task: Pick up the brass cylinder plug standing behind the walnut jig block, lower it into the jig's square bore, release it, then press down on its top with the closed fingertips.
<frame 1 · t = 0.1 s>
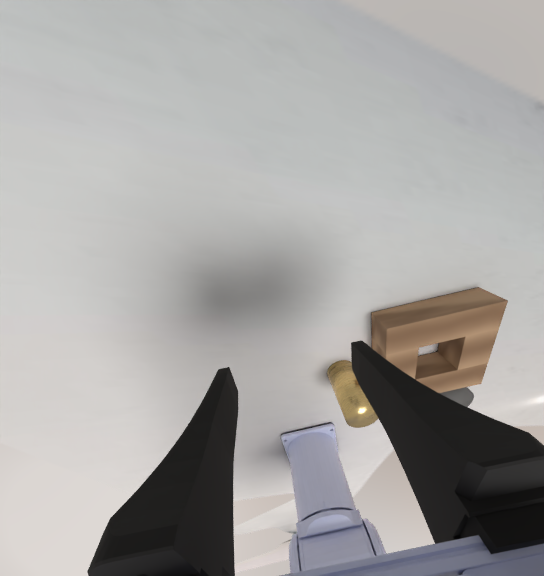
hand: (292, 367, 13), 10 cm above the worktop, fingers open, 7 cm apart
brass cylinder plug: (341, 370, 28), on the worktop
flat gray river rock: (440, 386, 31), on the worktop
jig: (419, 341, 26), on the worktop
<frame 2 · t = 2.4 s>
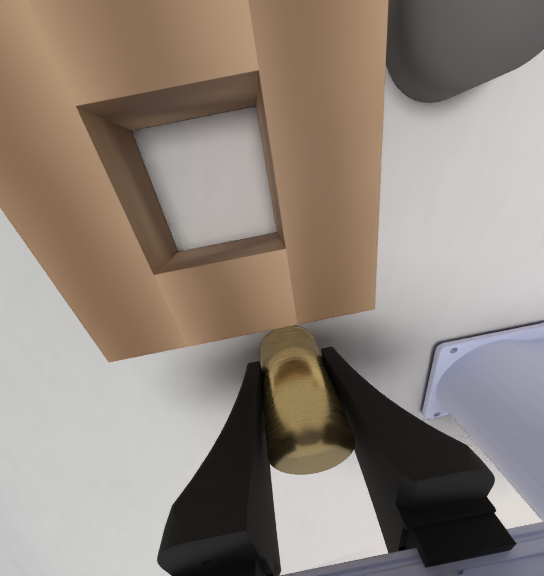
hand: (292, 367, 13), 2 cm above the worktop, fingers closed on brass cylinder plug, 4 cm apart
brass cylinder plug: (288, 348, 14), on the worktop, touching gripper
flat gray river rock: (445, 17, 8), on the worktop
jig: (212, 187, 10), on the worktop
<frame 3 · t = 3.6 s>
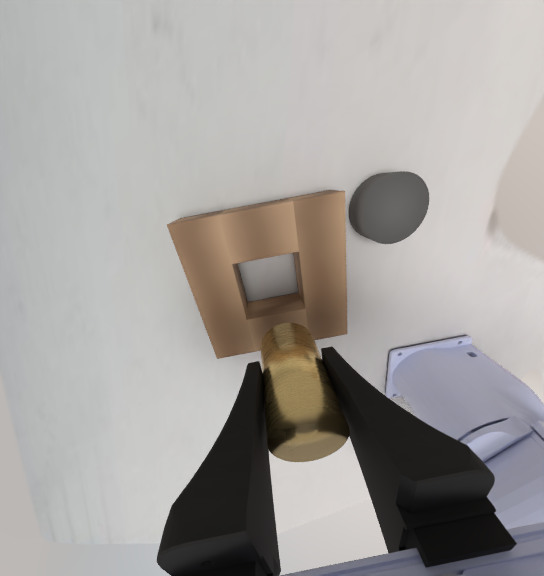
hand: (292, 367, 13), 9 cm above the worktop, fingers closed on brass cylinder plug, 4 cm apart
brass cylinder plug: (287, 344, 15), point 7 cm above the worktop, touching gripper
flat gray river rock: (377, 207, 18), on the worktop
jig: (268, 273, 20), on the worktop
when the fingers open (4 cm above the worktop, at t = 5.1 s): brass cylinder plug drops 2 cm, resting in jig.
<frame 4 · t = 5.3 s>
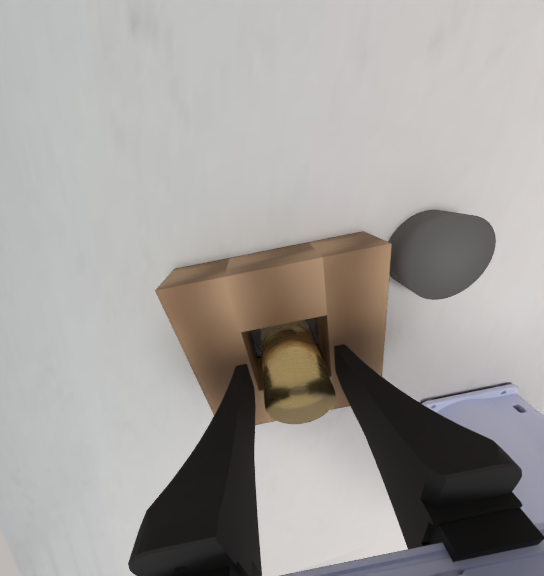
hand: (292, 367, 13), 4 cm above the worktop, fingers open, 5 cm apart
brass cylinder plug: (284, 329, 16), resting in jig
flat gray river rock: (419, 249, 15), on the worktop
jig: (283, 327, 16), on the worktop
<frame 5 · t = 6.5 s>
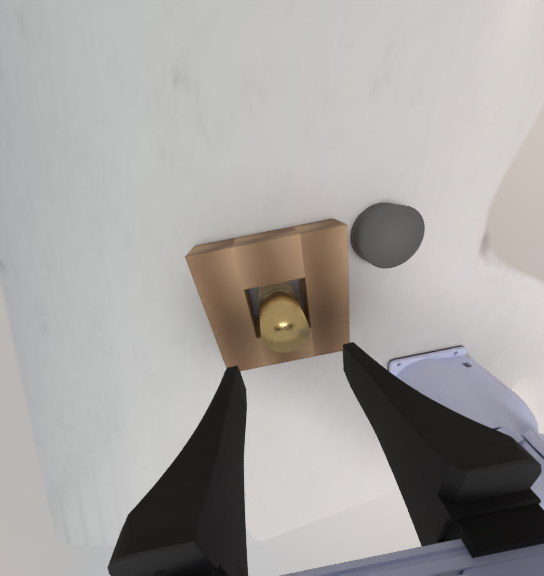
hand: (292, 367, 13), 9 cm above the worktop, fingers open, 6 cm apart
brass cylinder plug: (276, 295, 21), resting in jig
flat gray river rock: (377, 232, 19), on the worktop
jig: (275, 293, 21), on the worktop
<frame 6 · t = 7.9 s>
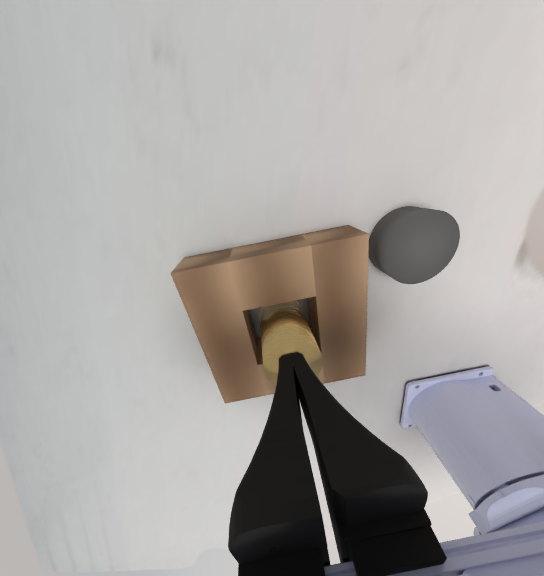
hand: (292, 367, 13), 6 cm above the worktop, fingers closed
brass cylinder plug: (280, 312, 18), resting in jig
flat gray river rock: (398, 240, 17), on the worktop
jig: (279, 310, 18), on the worktop
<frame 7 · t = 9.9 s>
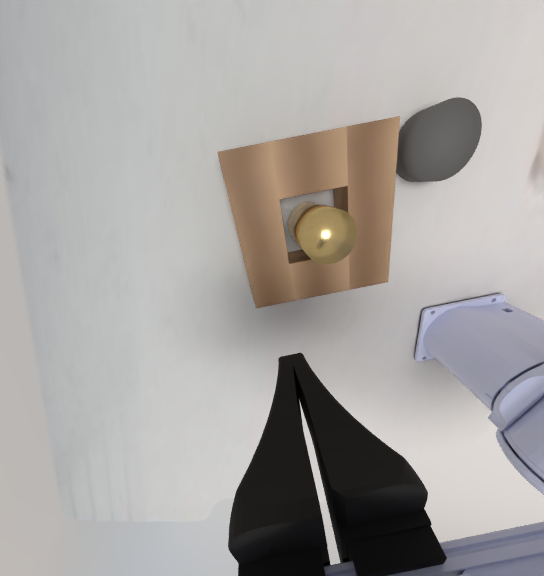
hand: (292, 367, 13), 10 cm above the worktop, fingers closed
brass cylinder plug: (307, 223, 19), resting in jig
flat gray river rock: (421, 147, 18), on the worktop
jig: (307, 221, 19), on the worktop
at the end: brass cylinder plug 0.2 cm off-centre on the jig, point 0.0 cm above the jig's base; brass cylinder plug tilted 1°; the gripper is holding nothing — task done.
